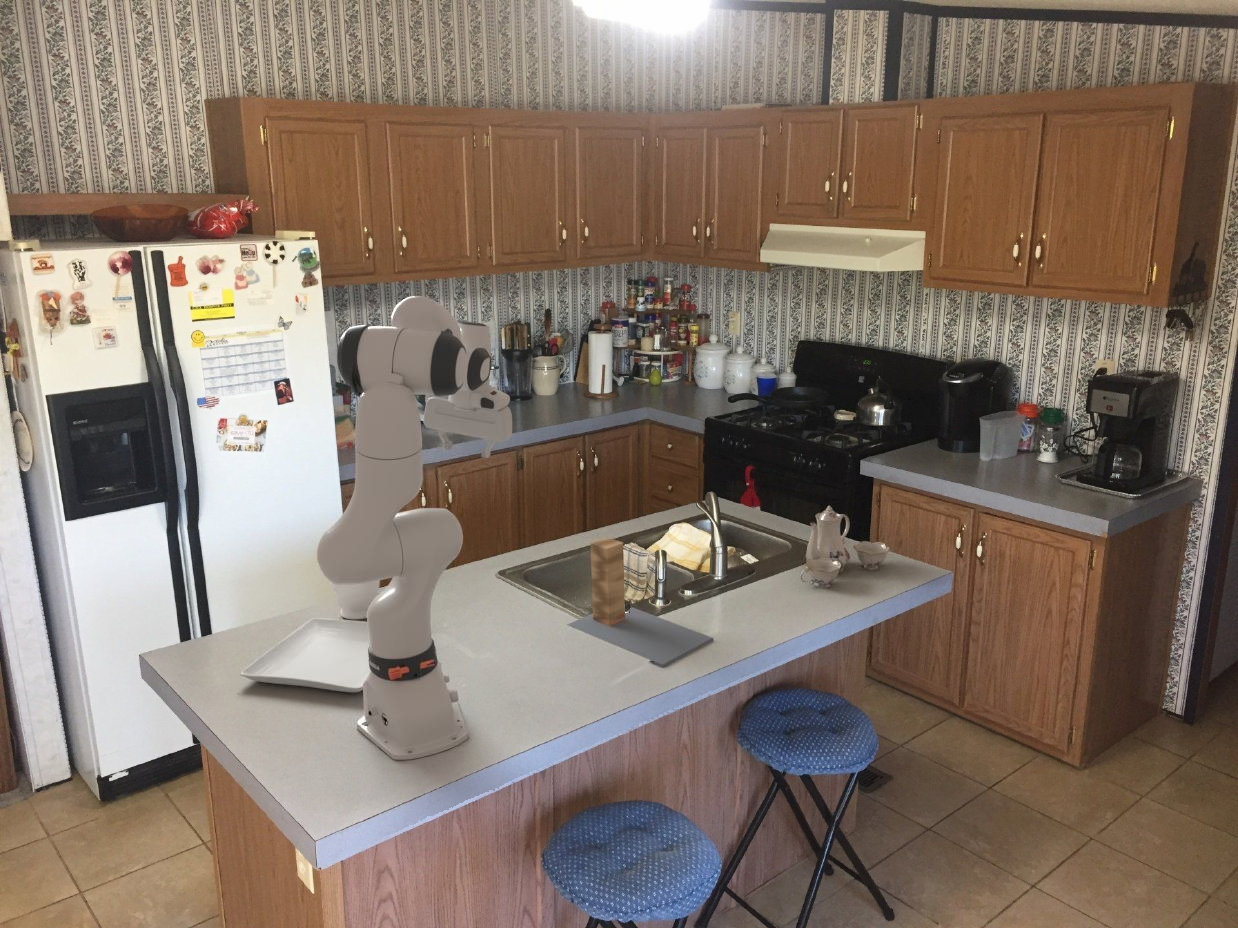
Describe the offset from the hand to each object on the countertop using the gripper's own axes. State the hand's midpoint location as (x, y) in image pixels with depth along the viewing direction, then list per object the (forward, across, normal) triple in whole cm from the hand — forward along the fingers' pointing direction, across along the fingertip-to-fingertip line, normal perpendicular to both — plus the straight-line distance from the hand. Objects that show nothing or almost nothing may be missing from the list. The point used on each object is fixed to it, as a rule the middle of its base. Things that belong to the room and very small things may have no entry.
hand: (466, 453), depth 228 cm
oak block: (+31, +38, -4) cm, 49 cm away
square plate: (+37, -10, -37) cm, 53 cm away
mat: (+30, +46, -8) cm, 56 cm away
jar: (+38, -19, -14) cm, 45 cm away
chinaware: (+27, +83, +36) cm, 95 cm away
